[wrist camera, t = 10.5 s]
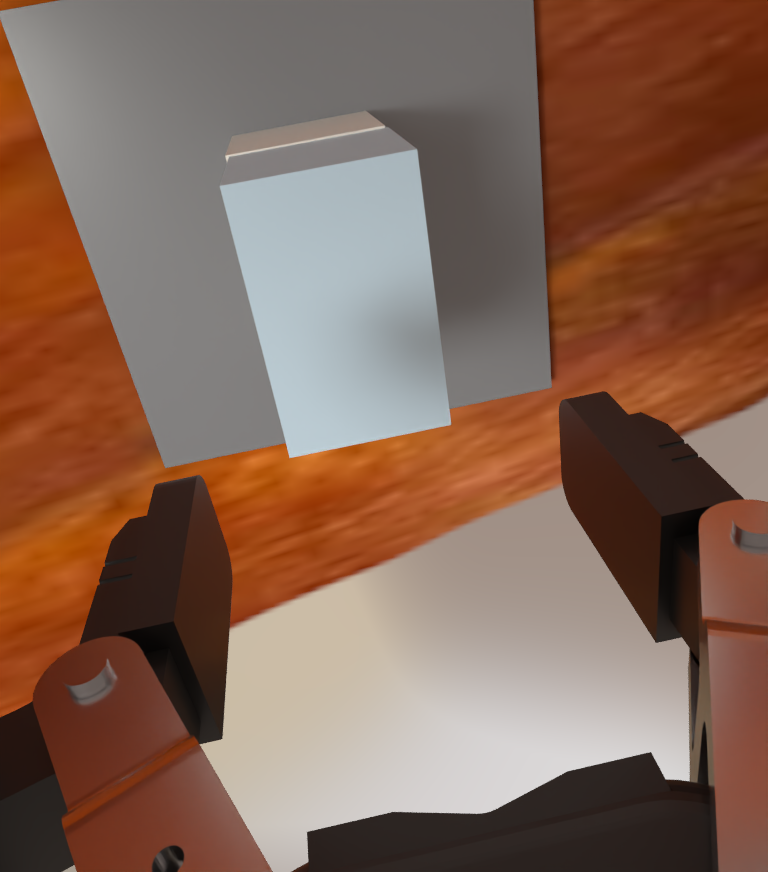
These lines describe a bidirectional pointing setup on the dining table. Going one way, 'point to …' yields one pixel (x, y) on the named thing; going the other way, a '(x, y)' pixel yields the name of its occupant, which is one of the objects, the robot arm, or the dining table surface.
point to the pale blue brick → (340, 287)
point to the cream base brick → (302, 133)
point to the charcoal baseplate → (270, 108)
